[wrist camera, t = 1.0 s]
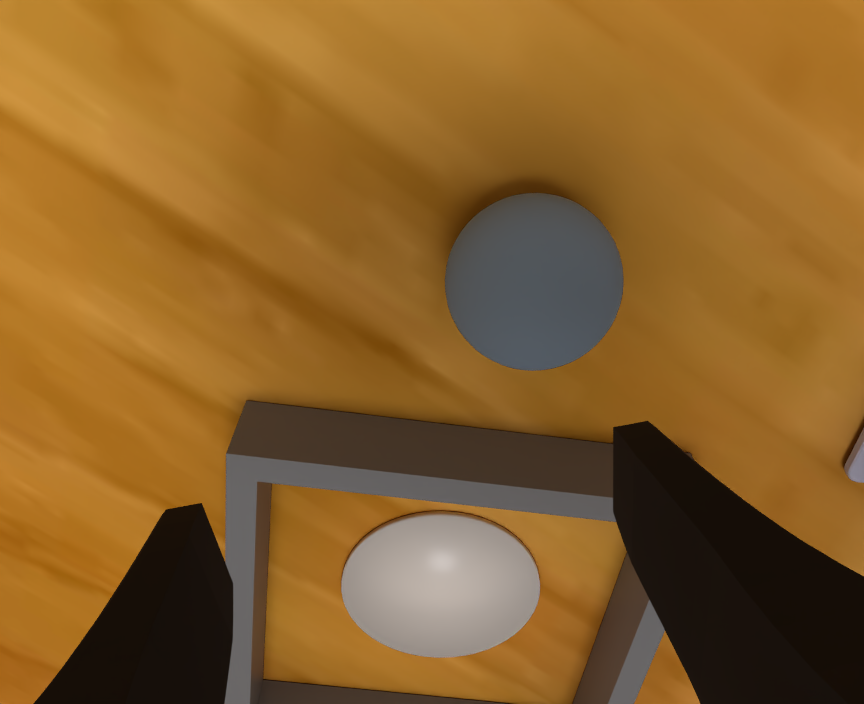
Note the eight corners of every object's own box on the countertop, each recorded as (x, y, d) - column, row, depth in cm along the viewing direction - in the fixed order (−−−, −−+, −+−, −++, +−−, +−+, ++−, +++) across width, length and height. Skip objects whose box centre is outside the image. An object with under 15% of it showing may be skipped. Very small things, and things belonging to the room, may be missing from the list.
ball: (624, 181, 23) (665, 247, 19) (584, 327, 26) (613, 415, 22) (457, 158, 23) (461, 220, 19) (434, 308, 26) (432, 393, 21)
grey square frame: (690, 453, 28) (715, 509, 26) (586, 725, 36) (597, 789, 34) (246, 400, 27) (226, 453, 25) (240, 692, 36) (224, 754, 33)
